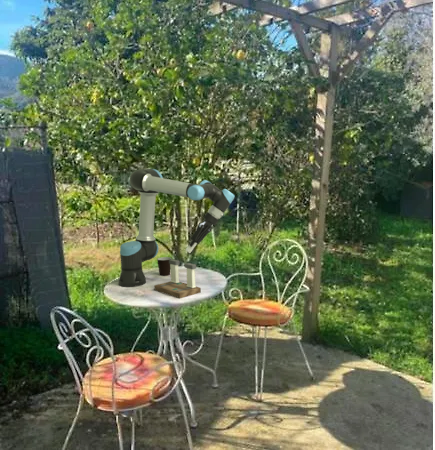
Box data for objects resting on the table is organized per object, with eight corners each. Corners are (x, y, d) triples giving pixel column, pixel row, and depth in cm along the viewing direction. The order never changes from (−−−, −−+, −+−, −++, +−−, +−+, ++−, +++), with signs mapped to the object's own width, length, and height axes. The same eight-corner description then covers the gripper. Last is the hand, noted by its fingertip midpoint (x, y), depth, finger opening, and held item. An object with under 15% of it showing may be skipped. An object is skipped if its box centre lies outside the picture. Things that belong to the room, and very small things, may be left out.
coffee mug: (169, 276, 265) (168, 260, 264) (155, 276, 267) (155, 260, 266) (175, 271, 277) (174, 256, 275) (161, 271, 278) (161, 255, 277)
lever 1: (173, 280, 245) (172, 259, 243) (180, 282, 241) (179, 260, 239) (169, 281, 243) (168, 260, 242) (176, 283, 239) (175, 261, 237)
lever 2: (189, 285, 235) (188, 263, 233) (196, 287, 230) (196, 264, 229) (185, 286, 233) (184, 263, 231) (193, 288, 229) (192, 265, 227)
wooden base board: (175, 284, 247) (174, 280, 247) (200, 292, 231) (200, 287, 231) (154, 290, 238) (154, 285, 237) (179, 298, 222) (179, 293, 222)
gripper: (214, 216, 228) (187, 253, 229) (222, 222, 240) (197, 257, 241) (203, 208, 231) (177, 245, 232) (212, 214, 243) (187, 249, 244)
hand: (187, 251), depth 236 cm, fingers closed
